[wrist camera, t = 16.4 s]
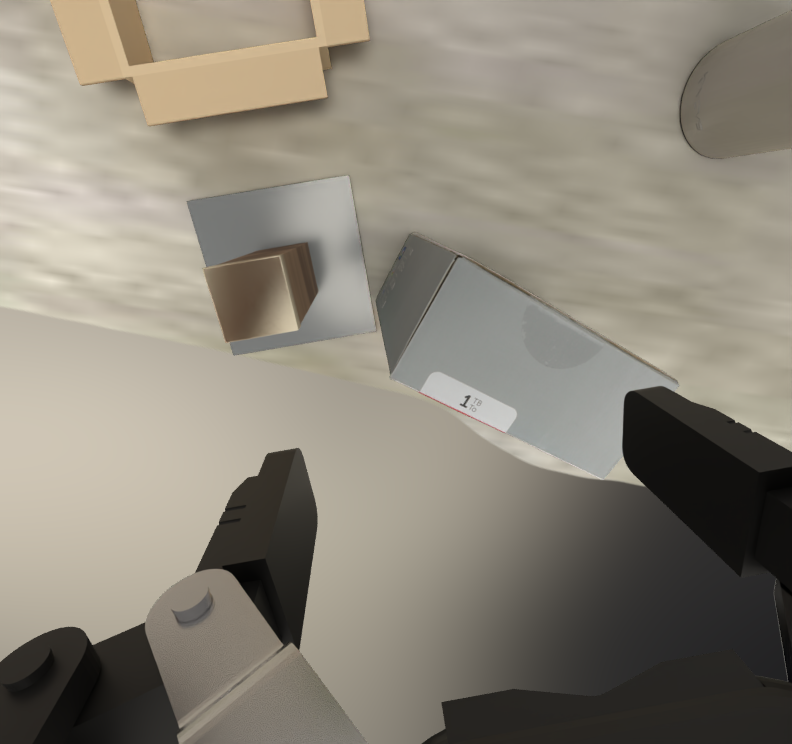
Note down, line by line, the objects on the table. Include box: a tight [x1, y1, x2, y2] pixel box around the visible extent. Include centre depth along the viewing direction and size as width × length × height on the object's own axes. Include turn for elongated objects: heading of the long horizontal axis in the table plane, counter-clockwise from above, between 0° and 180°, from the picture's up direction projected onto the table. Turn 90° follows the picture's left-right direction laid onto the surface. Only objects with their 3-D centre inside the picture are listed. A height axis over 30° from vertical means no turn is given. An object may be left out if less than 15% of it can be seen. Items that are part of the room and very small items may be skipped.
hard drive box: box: [376, 232, 679, 480], centre depth 33 cm, size 16×8×20 cm, turn 61°
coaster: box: [187, 175, 376, 355], centre depth 39 cm, size 14×14×1 cm
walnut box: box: [202, 242, 318, 343], centre depth 32 cm, size 5×5×14 cm
